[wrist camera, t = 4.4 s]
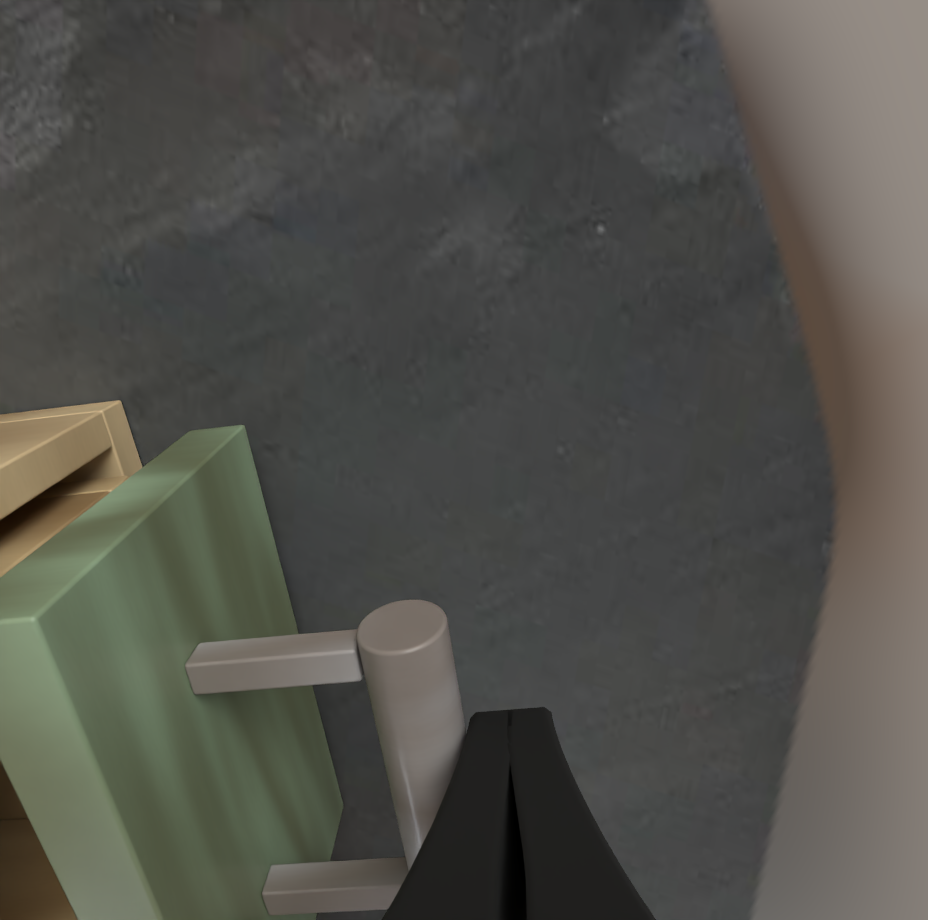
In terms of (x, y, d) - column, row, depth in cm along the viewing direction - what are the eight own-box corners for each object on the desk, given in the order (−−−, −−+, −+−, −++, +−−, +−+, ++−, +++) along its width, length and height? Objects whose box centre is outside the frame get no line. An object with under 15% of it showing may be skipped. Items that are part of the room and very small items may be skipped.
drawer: (445, 400, 13) (401, 583, 7) (503, 795, 17) (508, 1147, 11) (-307, 487, 15) (-903, 705, 8) (-103, 835, 18) (-412, 1167, 12)
